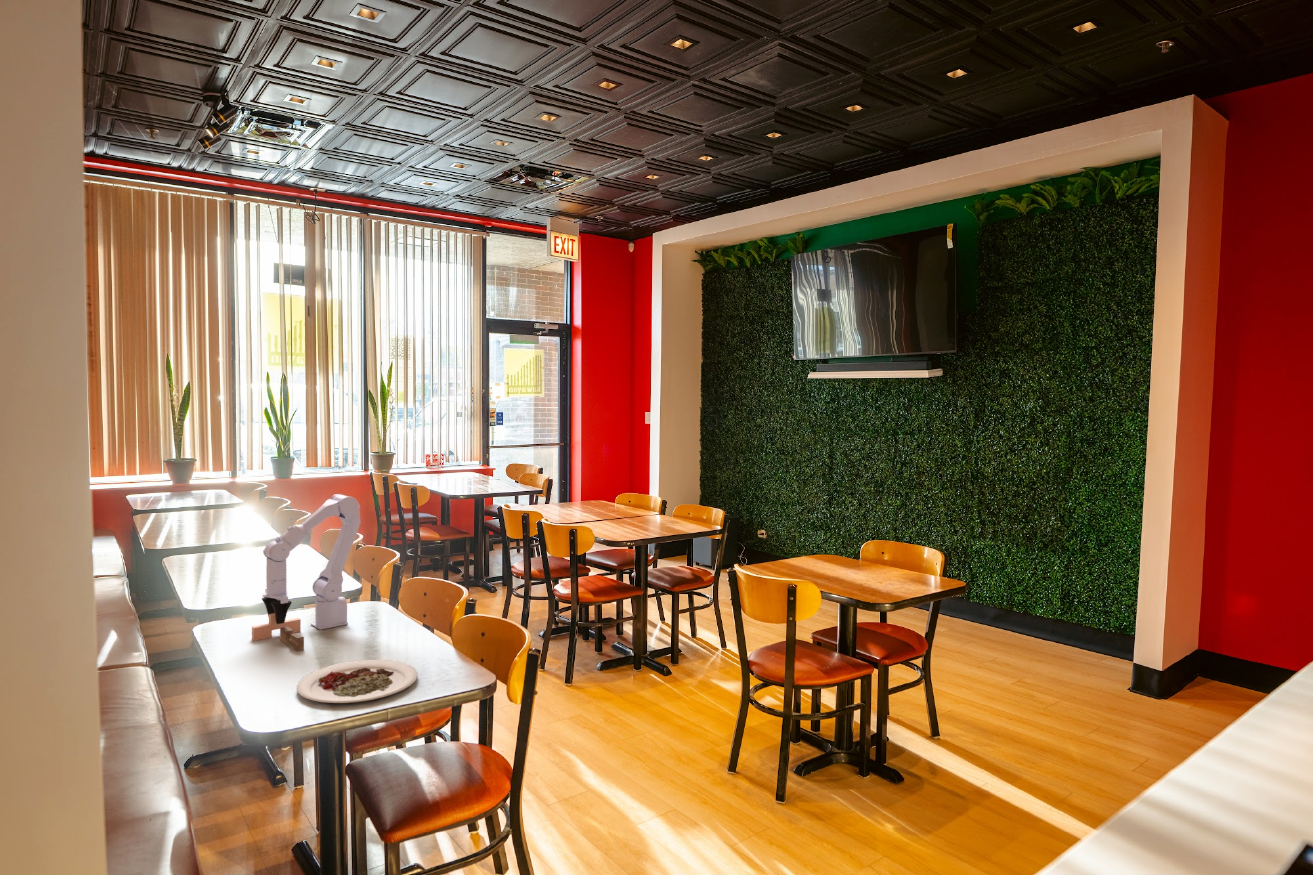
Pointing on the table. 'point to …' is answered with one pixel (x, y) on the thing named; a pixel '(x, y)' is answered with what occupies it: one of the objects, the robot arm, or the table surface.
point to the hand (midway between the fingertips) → (276, 621)
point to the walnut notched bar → (292, 638)
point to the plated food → (357, 681)
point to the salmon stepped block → (274, 627)
